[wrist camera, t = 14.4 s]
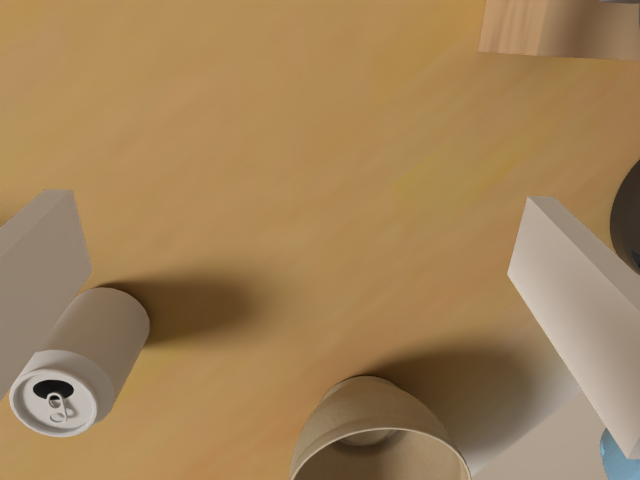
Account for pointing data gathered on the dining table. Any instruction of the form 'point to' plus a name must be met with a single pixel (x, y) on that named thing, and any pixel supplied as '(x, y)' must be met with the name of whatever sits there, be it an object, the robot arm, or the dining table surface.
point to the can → (81, 364)
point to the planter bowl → (375, 437)
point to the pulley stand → (563, 28)
